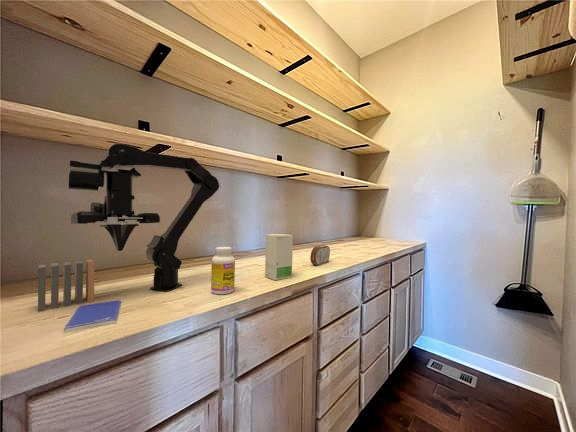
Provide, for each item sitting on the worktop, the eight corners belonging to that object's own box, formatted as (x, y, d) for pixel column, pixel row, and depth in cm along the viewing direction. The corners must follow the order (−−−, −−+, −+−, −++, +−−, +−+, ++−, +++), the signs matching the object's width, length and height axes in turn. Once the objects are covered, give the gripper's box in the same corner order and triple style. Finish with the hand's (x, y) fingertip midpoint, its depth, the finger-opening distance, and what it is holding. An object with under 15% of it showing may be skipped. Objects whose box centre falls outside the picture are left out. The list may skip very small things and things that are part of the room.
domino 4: (91, 296, 65) (91, 259, 65) (94, 300, 62) (94, 262, 62) (85, 297, 64) (86, 260, 64) (88, 301, 61) (88, 262, 61)
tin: (325, 261, 118) (325, 243, 118) (330, 261, 117) (331, 244, 116) (309, 266, 106) (309, 247, 106) (315, 267, 104) (316, 247, 104)
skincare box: (275, 281, 82) (275, 235, 82) (263, 277, 87) (264, 234, 87) (293, 277, 88) (293, 234, 87) (281, 273, 92) (282, 233, 92)
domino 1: (45, 304, 59) (45, 264, 58) (45, 310, 56) (45, 267, 55) (38, 306, 58) (38, 264, 58) (37, 311, 55) (38, 267, 55)
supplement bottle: (222, 296, 66) (223, 250, 66) (206, 292, 69) (206, 248, 69) (239, 290, 72) (239, 247, 72) (223, 286, 75) (223, 245, 75)
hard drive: (116, 318, 50) (121, 299, 60) (63, 327, 45) (78, 305, 56) (116, 325, 50) (121, 305, 60) (63, 335, 45) (78, 312, 56)
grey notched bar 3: (69, 300, 62) (69, 261, 62) (71, 305, 59) (71, 264, 59) (63, 301, 61) (63, 262, 61) (64, 306, 58) (64, 265, 58)
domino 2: (57, 302, 60) (57, 262, 60) (58, 307, 57) (58, 265, 57) (51, 303, 59) (51, 263, 59) (51, 309, 56) (51, 266, 56)
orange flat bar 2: (80, 298, 63) (81, 260, 63) (82, 302, 60) (83, 263, 60) (74, 299, 62) (75, 261, 62) (76, 304, 59) (76, 263, 59)
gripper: (142, 197, 76) (143, 247, 76) (64, 192, 61) (64, 253, 61) (160, 194, 70) (161, 247, 69) (78, 186, 55) (78, 255, 54)
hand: (119, 250), depth 64 cm, fingers closed
